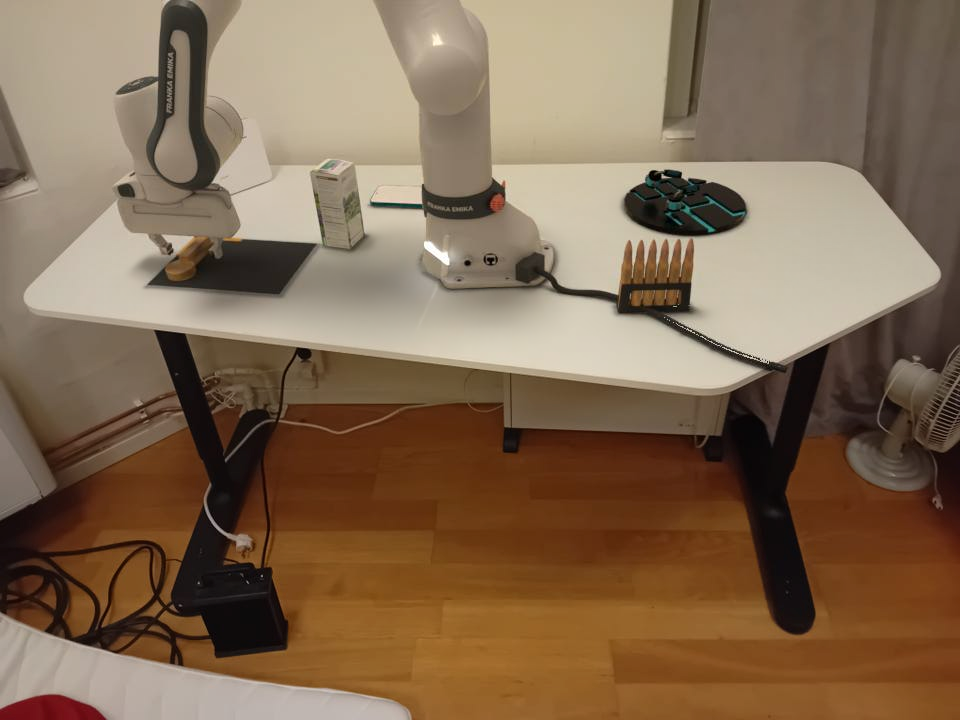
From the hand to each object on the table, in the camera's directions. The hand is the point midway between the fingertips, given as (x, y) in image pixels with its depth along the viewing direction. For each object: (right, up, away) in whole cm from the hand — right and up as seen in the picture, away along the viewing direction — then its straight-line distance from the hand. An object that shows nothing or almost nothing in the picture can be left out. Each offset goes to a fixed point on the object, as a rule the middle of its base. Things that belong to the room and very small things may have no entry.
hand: (192, 255), depth 130 cm
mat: (+7, -2, 0) cm, 8 cm away
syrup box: (+26, +3, +5) cm, 26 cm away
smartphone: (+37, +14, +17) cm, 43 cm away
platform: (+88, +10, +9) cm, 90 cm away
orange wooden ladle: (0, -1, +1) cm, 1 cm away
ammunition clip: (+77, -11, -16) cm, 79 cm away
